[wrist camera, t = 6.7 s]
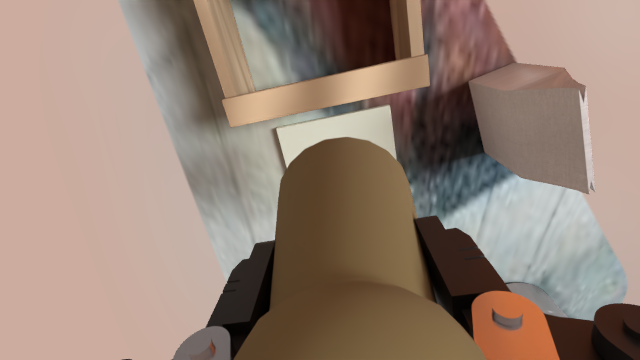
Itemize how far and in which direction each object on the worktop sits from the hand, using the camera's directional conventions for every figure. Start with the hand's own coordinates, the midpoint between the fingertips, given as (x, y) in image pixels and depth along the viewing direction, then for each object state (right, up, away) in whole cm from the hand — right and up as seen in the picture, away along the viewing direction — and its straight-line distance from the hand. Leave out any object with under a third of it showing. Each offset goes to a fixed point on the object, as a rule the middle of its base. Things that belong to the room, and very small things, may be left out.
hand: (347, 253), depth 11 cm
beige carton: (+14, +9, +16) cm, 23 cm away
